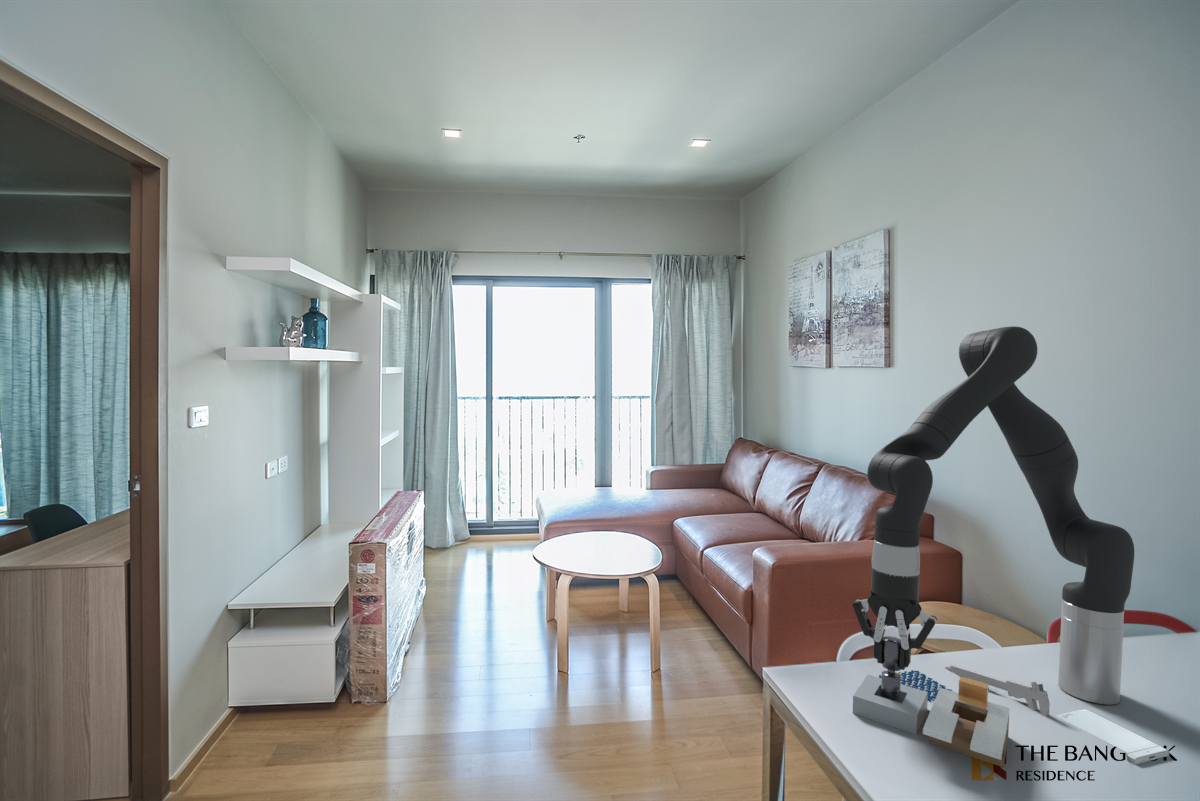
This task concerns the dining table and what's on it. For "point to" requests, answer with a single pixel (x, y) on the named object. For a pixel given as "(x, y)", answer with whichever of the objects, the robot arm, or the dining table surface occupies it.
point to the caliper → (1010, 688)
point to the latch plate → (974, 698)
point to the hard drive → (1116, 736)
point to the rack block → (891, 705)
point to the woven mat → (924, 683)
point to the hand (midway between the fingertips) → (891, 664)
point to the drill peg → (891, 668)
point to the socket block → (969, 736)
